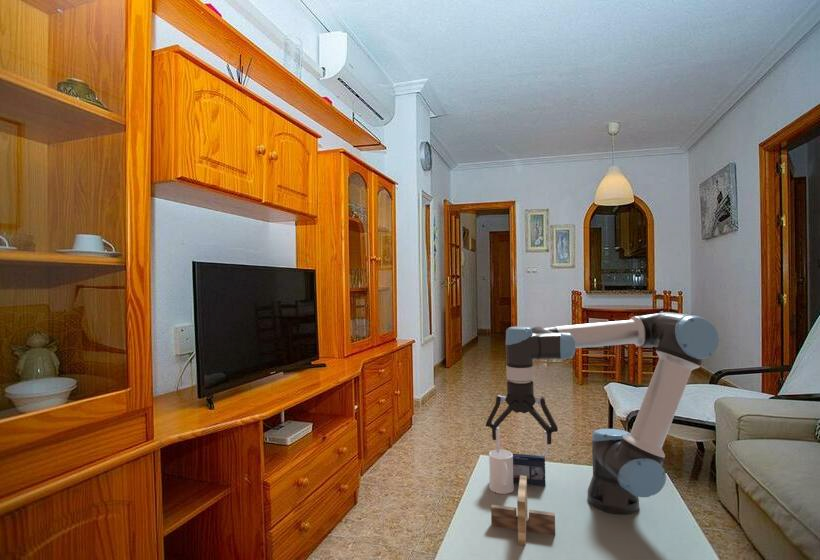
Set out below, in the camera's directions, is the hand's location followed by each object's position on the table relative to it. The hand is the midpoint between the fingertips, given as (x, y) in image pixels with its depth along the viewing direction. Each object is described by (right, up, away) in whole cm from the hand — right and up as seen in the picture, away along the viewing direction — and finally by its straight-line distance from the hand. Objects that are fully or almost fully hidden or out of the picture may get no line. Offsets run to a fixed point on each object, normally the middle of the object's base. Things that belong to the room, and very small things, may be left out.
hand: (521, 452), depth 129 cm
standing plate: (0, -22, 0) cm, 22 cm away
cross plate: (0, -22, 0) cm, 22 cm away
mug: (-1, -22, +23) cm, 32 cm away
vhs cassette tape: (+6, -22, +29) cm, 37 cm away
